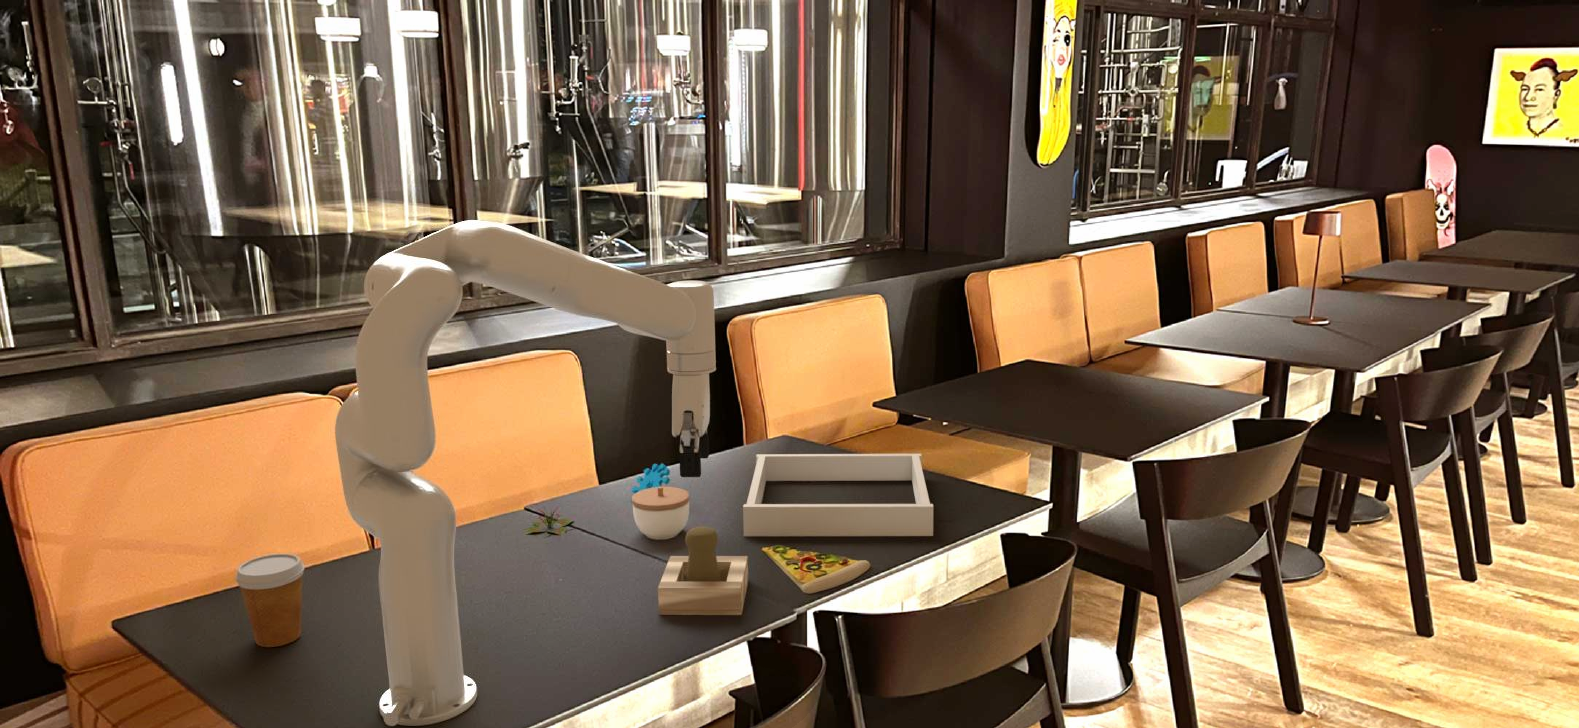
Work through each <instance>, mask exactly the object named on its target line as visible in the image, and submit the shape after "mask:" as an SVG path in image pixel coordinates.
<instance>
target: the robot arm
mask: <svg viewBox="0 0 1579 728" xmlns="http://www.w3.org/2000/svg"><path fill="white" fill-rule="evenodd" d="M469 283H476V284H481V285H485V286H487V287H491V288H494V289H497V290H500V291H503V292H506V293H509V294H512V295H513V296H518V297H521V298H523V299H527V300H530V301H533V302H535V303H538V304H540V305H544V306H547V307H550V308H553V309H555V310H558V311H562V312H564V313H568V314H571V315H576V316H581V317H586V318H592V319H598V320H602V321H607V322H610V323H614V324H617V325H618V326H619V327H620V328H621V329H622V330H624V331H626V332H629V333H631V334H636V335H638V336H639V335H640V336H644V337H649V338H654V339H659V340H662V341H666V342H665V343H666V345H665V346H666V365H667V366H666V369H667V372H668V373H669V374H671V375H672V385H671V387H672V388H671V392H672V393H671V434H672V437H674V438H678V436H680V440H679V442H680V443H679V452H678V453H679V454H678V455H679V459H678V460H679V476H680V477H681V478H700V477H701V476H702V461H701V460H702V459H708V458H709V456H710V451H709V449H710V448H709V447H710V446H709V433H708V426H709V424H710V420H711V419H710V417H711V413H710V412H711V401H710V400H711V393H710V392H711V390H710V374H711V373H713V372H716V370H717V367H716V366H717V365H716V363H717V360H716V330H715V329H716V327H715V325H716V324H715V323H716V322H715V296H714V293H715V292H714V289H713V286H712V285H711V284H710V283H709V282H707V281H705V280H704V281H703V280H689V279H688V280H680V281H673V282H671V283H668V284H665V283H663V282H661V281H658V280H656V279H653V278H650V277H647V276H644V275H643V274H642V275H641V274H638V273H636V272H633V271H631V270H627V269H625V268H622V267H619V266H616V265H613V264H610V263H608V262H606V261H603V260H601V259H599V258H595V257H592V256H590V255H587V254H583V253H581V252H579V251H576V250H573V249H571V248H567V247H565V246H562V245H560V244H557V243H555V242H552V241H550V240H547V239H545V238H543V237H540V236H537V235H534V234H532V233H529V232H527V231H525V230H523V229H520V228H517V227H515V226H512V225H508V224H504V223H502V222H501V223H500V222H493V221H484V220H478V219H476V220H474V219H470V220H464V221H460V222H457V223H455V224H452V225H449V226H447V227H445V228H443V229H440V230H438V231H436V232H433V233H431V234H429V235H427V236H425V237H423V238H420V239H418V240H416V241H413V242H411V243H409V244H406V245H404V246H402V247H399V248H398V249H397V248H396V249H395V250H393V251H391V252H390V251H389V252H388V253H386V254H385V255H382V256H381V257H379V258H378V259H377V260H376V261H375V262H374V263H373V264H372V265H371V266H370V267H369V269H368V270H367V273H365V277H364V284H363V290H364V295H365V298H366V300H367V302H368V304H369V305H370V306H371V307H372V308H373V309H372V310H371V312H370V313H369V314H368V316H367V318H366V319H365V321H364V323H363V325H362V327H361V329H360V332H359V333H358V337H357V341H356V345H355V351H354V352H355V353H354V355H355V357H354V360H355V361H354V362H355V375H356V386H357V387H356V388H357V390H356V391H355V392H353V393H351V395H349V396H348V397H347V398H346V399H345V400H344V402H343V403H342V405H341V406H340V408H339V410H338V411H337V415H336V419H335V425H334V435H335V444H336V445H335V447H336V452H337V458H338V464H339V465H338V466H339V470H340V476H341V477H340V478H341V483H342V484H341V485H342V490H343V496H344V500H345V505H346V508H347V511H348V513H349V516H350V517H351V519H352V520H353V521H354V522H355V523H356V524H357V525H358V526H359V527H360V528H361V529H363V530H364V531H365V532H367V533H368V534H369V535H371V536H373V537H374V538H375V539H376V540H378V542H379V544H380V560H379V561H380V562H379V565H378V566H379V567H378V588H379V589H378V590H379V592H378V593H379V599H380V606H381V607H380V608H381V609H380V610H381V617H382V626H383V637H384V645H385V647H384V648H385V654H386V664H387V674H388V684H389V689H388V690H386V691H385V692H384V693H383V694H382V696H381V697H380V699H379V701H378V708H379V713H380V715H381V717H382V718H383V722H384V723H385V724H386V725H387V726H390V727H394V726H396V725H400V726H405V727H406V726H407V727H412V726H413V727H418V726H420V727H421V726H428V725H433V724H438V723H441V722H444V721H448V720H450V719H453V718H455V717H457V716H459V715H461V714H463V712H465V711H467V710H468V709H469V708H471V706H472V705H474V703H475V701H476V699H477V697H478V686H477V684H476V682H475V681H474V680H473V679H472V678H470V677H468V676H467V675H465V674H464V666H463V664H464V663H463V655H462V653H463V651H462V641H461V629H460V628H461V627H460V619H459V607H458V596H457V595H458V594H457V586H456V584H457V583H456V577H455V576H456V573H455V543H456V542H455V541H456V531H457V530H456V529H457V516H456V510H455V508H454V507H455V506H454V505H453V501H451V499H450V497H449V496H448V494H447V493H446V492H445V491H444V490H443V489H442V488H441V487H439V486H438V485H437V484H435V483H434V482H433V481H430V480H429V479H426V478H425V477H422V476H420V475H418V474H416V473H413V471H416V470H418V469H419V468H421V467H423V466H424V465H425V464H427V462H429V461H430V459H431V457H432V456H433V455H434V454H433V453H434V451H435V448H436V442H437V439H436V426H435V425H436V424H435V421H434V420H435V417H434V413H433V406H432V398H431V391H430V384H429V373H428V355H429V351H430V350H429V349H430V348H431V344H432V342H433V340H434V339H435V337H436V336H437V334H438V333H439V331H440V330H441V329H442V328H443V327H444V326H445V325H446V324H447V323H448V322H449V321H450V320H451V319H452V318H453V317H454V316H455V315H456V314H457V311H458V310H459V308H460V306H461V303H462V300H463V291H464V290H463V287H464V286H465V285H467V284H469Z"/></svg>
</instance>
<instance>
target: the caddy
mask: <svg viewBox="0 0 1579 728" xmlns="http://www.w3.org/2000/svg"><path fill="white" fill-rule="evenodd" d="M748 557H749V556H748V555H716V558H717V564H718V570H719V576H720V581H721V582H686V579H687V568H688V558H689V555H670V557H669V559H668V561H667V564H666V567H665V569H664V572H663V574H662V577H661V580H660V581H659V584H658V587H657V595H658V598H657V599H658V600H657V601H658V615H659V616H665V615H666V616H670V615H671V616H674V615H677V616H687V615H688V616H742V614H743V610H744V606H745V605H744V604H745V599H746V594H747V589H748V583H749V562H748V561H749V558H748Z"/></svg>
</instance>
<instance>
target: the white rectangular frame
mask: <svg viewBox="0 0 1579 728" xmlns="http://www.w3.org/2000/svg"><path fill="white" fill-rule="evenodd" d="M755 455H756V456H755V468H754V473H753V477H752V481H751V484H750V488H749V492H748V495H747V501H746V503H744V504H743V506H742V517H743V519H742V520H743V537H933V536H934V504H933V503H931V501H930V497H929V493H928V489H927V484H926V480H925V476H924V471H923V467H922V454H921V453H815V454H814V453H798V454H797V453H793V454H792V453H787V454H785V453H783V454H782V453H781V454H777V453H775V454H769V453H767V454H766V453H765V454H761V453H760V454H759V453H758V454H755ZM785 481H787V482H789V481H791V482H794V481H795V482H800V481H801V482H808V481H810V482H816V481H817V482H818V481H819V482H820V481H821V482H822V481H823V482H826V481H827V482H829V481H834V482H835V481H837V482H838V481H843V482H844V481H845V482H846V481H847V482H849V481H854V482H855V481H862V482H863V481H864V482H865V481H911V483H912V487H913V494H914V499H915V503H774V504H773V503H762V502H763V498H764V492H765V487H766V483H767V482H785Z"/></svg>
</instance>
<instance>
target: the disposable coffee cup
mask: <svg viewBox="0 0 1579 728" xmlns="http://www.w3.org/2000/svg"><path fill="white" fill-rule="evenodd" d="M305 567H306V566H305V564H304V563H303V562H302V560H301V557H300V556H298V554H297V555H296V554H294V553H293V554H292V553H270V554H264V555H260V556H258V557H257V556H256V557H254V558H251V559H249V560H246V561H245V562H243V563H242V564H239V566H238V567H237V573H236V575H235V577H234V580H235V582H236V583H237V586H239V587H240V591H241V594H242V599H243V601H244V606H245V609H246V612H247V616H248V619H249V622H250V626H251V630H252V633H253V637H254V641H255V643H256V645H257V646H260V647H262V648H273V647H280V646H281V647H282V646H284V645H288V644H290V643H293V642H294V641H296V640H297V639H299V638H300V637H301V635H302V599H303V598H302V596H303V593H302V592H303V589H302V588H303V575H304V570H306V569H305Z"/></svg>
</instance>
